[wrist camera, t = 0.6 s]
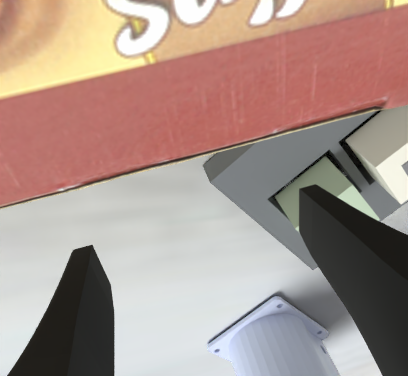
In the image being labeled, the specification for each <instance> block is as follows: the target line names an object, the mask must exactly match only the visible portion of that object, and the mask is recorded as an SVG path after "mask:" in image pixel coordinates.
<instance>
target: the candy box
mask: <svg viewBox="0 0 408 376" xmlns="http://www.w3.org/2000/svg"><path fill="white" fill-rule="evenodd" d="M405 105H408V0H0V209H4V208H7V207H11V206H15V205H19V204H24V203H28V202H32V201H36V200H40V199H43V198H47V197H51V196H55V195H59V194H63V193H67V192H71V191H75V190H80V189H84V188H87V187H90V186H93V185H97V184H101V183H105V182H108V181H111V180H114V179H117V178H121V177H125V176H129V175H132V174H136V173H140V172H144V171H148V170H152V169H156V168H161V167H165V166H169V165H173V164H177V163H181V162H185V161H188V160H192V159H195V158H199V157H203V156H206V155H210V154H213V153H217V152H221V151H225V150H229V149H232V148H236V147H240V146H244V145H248V144H252V143H256V142H259V141H263V140H267V139H270V138H274V137H278V136H281V135H285V134H289V133H293V132H296V131H300V130H304V129H308V128H312V127H316V126H319V125H323V124H327V123H331V122H334V121H338V120H342V119H346V118H350V117H354V116H358V115H362V114H366V113H369V112H373V111H379V110H384V109H392V108H397V107H401V106H405Z"/></svg>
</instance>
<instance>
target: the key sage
mask: <svg viewBox="0 0 408 376" xmlns="http://www.w3.org/2000/svg"><path fill="white" fill-rule="evenodd" d="M314 184H316V185H318V186H320V187H321V188H323V189H325V190H326V191H328V192H330V193H331V194H333V195H334V196H336V197H338V198H339V199H341V200H343V201H344V202H346V203H348V204H349V205H351V206H353V207H354V208H356V209H358V210H360V211H361V212H363V213H365V214H367V215H368V216H370V217H372V218H374V219H376V220H378V221H379V220H380V219H379V217H378V216H377V215H376V214H375V212H374V211H373V210H372V209H371V207H370V206H369V205H368V203H367V202H366V201H365V200H364V198H363V197H362V196H361V195H360V193H359V192H358V191H357V189H356V188H355V187H354V186H353V184H352V183H351V182H350V181H349V180H348V179H347V178H346V177H345V176H344V175H343V174H342V173H341V172H340V171H339V170H338V169H337V168H336V167H335V166H334V165H333V164H332V162H331V161H330V160H329V159H328V158H327V157H326V156H325V157H324V158H322V159H321V160H320V161H319V162H317V163H316V164H315V165H314V166H312V167H311V168H310V169H309V170H307V171H306V172H305V173H304V174H302V175H301V176H300V177H299V178H297V179H296V180H295V181H294V182H292V183H291V184H290V185H289V186H287V187H286V188H285V189H284V190H283V191H281V192H280V193H279V194H278V195H276V196H275V198H276V200H277V201H278V203H279V204H280V206H281V207H282V209H283V211H284V212H285V214H286V215H287V217H288V218H289V220H290V221H291V223H292V225H293V226H294V228H295V229H296V230H297V231H298V232H299V188H303V187H307V186H310V185H314ZM299 233H300V232H299Z"/></svg>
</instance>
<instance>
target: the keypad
mask: <svg viewBox="0 0 408 376" xmlns="http://www.w3.org/2000/svg"><path fill="white" fill-rule="evenodd" d="M375 112H376V111H373V112H369V113H366V114H362V115H358V116H354V117H350V118H346V119H342V120H338V121H334V122H331V123H327V124H323V125H319V126H316V127H312V128H308V129H304V130H300V131H296V132H293V133H289V134H285V135H281V136H278V137H274V138H270V139H267V140H263V141H259V142H256V143H252V144H248V145H244V146H240V147H236V148H232V149H229V150H225V151H221V152H218V153H216V154H215V155H214V156H213V157H212V158H211V159H210V160H209V161H207V162H206V163H205V164H204V165H203V167H204V170H205V172H206V174H207V176H208V179H209V181H210V183H211V184H213V185H214V186H215V187H216V188H217V189H218V190H220V191H221V192H222V193H223V194H224V195H225V196H227V197H228V198H229V199H230V200H231V201H232V202H234V203H235V204H236V205H237V206H238V207H240V208H241V209H242V210H243V211H244V212H245V213H247V214H248V215H249V216H250V217H251V218H252V219H254V220H255V221H256V222H257V223H258V224H259V225H261V226H262V227H263V228H264V229H265V230H266V231H268V232H269V233H270V234H271V235H272V236H274V237H275V238H276V239H277V240H278V241H279V242H281V243H282V244H283V245H284V246H285V247H286V248H288V249H289V250H290V251H291V252H292V253H293V254H295V255H296V256H297V257H298V258H299V259H300V260H302V261H303V262H304V263H305V264H306V265H307V266H309V267H310V268H311V269H312V270H314V269H315V268H317V267H318V265H317V264H316V262H315V261H314V259H313V258H312V256H311V255H310V253H309V251H308V249H307V247H306V245H305V243H304V241H303V239H302V237H301V235H300V233H299V232H298V231H297V230H296V229H295V228H294V226H293V225H292V223H291V221H290V220H289V218H288V217H287V215H286V214H285V212H284V211H283V209H282V207H281V206H280V204H279V203H278V202H277V201H276V200H274V199H273V198H272V197H271V196H272V195H273V194H275V193H276V192H277V191H278V190H280V189H281V188H282V187H283V186H285V185H286V184H287V183H288V182H290V181H291V180H292V179H293V178H294V177H296V176H297V175H298V174H299V173H301V172H302V171H303V170H304V169H306V168H307V167H308V166H309V165H311V164H312V163H313V162H314V161H316V160H317V159H318V158H319V157H321V156H322V155H323V154H324V153H325V152H327V151H328V152H329V153H330V154H331V156H332V157H333V158H334V160H335V161H336V162H337V163H338V165H339V166H340V167H341V168H342V170H343V171H344V172H345V174H346V175H347V177H346V178H347V179H348V180H349V181H350V182H351V183H352V184H353V186H354V187H355V188H356V189H357V191H358V192H359V193H360V195H361V196H362V197H363V198H364V200H365V201H366V202H367V203H368V205H369V206H370V207H371V209H372V210H373V211H374V212H375V214H376V215H377V216H378V217H379V219H380V220H379V222H380V221H382V220H383V219H384V218H386V217H387V216H389V215H390V214H391V213H393V212H394V211H395V210H397V209H398V208H400V207H401V206H402V205H404V204H405V203H407V202H408V200H407V201H405V202H404V203H403V204H400V203H399V202H398V201H397V200H396V199H395V198H394V197H392V196H391V195H390V194H389V193H388V192H387V191H386V190H385V189H384V188H383V187H382V186H381V185H380V184H379V183H378V182H377V181H376V180H375V179H374V178H372V177H371V175H370V174H369V173H368V171H367V170H366V169H365V167H364V166H363V164H362V165H361V166H359V167H358V168H357V167H356V166H355V164H354V163H353V162H352V160H351V159H350V158H349V156H348V155H347V154H346V152H345V151H344V150H343V148H342V147H341V146H340V144H339V143H338V142H339V141H340V140H342V139H343V138H344V137H345V136H347V135H348V134H349V133H350V132H351V131H353V130H354V129H355V128H356V127H358V126H359V125H360V124H361V123H363V122H364V121H365V120H366V119H368V118H369V117H370V116H371V115H373V114H374V113H375Z"/></svg>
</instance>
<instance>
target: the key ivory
mask: <svg viewBox="0 0 408 376" xmlns="http://www.w3.org/2000/svg"><path fill="white" fill-rule="evenodd" d="M345 141H346V142H347V144H348V145H349V146H350V148H351V149H352V150H353V152H354V153H355V155H356V156H357V157H358V159H359V160H360V162H361V163H362V164H363V166H364V167H365V169H366V170H367V171H368V173H369V174H370V175H371V177H372V178H374V179H375V180H376V181H377V182H378V183H379V184H380V185H381V186H382V187H383V188H384V189H385V190H386V191H387V192H388V193H389V194H390V195H391V196H392V197H394V198H395V199H396V200H397V201H398V202H399V203H400V204H403V203H404V202H405V201H407V200H408V105H405V106H401V107H397V108H392V109H384V110H382V111H381V112H380V113H378V114H377V115H376V116H375V117H373V118H372V119H371V120H370V121H368V122H367V123H366V124H365V125H363V126H362V127H361V128H360V129H358V130H357V131H356V132H355V133H353V134H352V135H351V136H350V137H348V138H347V139H346V140H345Z"/></svg>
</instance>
